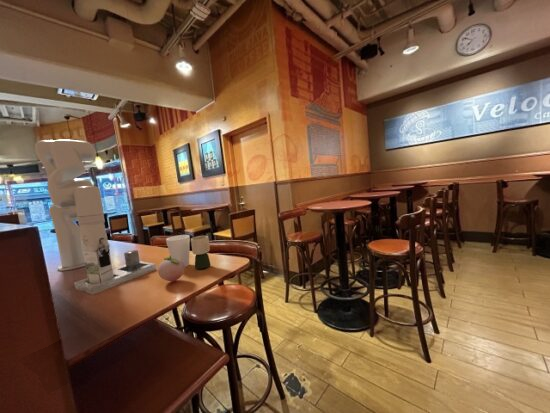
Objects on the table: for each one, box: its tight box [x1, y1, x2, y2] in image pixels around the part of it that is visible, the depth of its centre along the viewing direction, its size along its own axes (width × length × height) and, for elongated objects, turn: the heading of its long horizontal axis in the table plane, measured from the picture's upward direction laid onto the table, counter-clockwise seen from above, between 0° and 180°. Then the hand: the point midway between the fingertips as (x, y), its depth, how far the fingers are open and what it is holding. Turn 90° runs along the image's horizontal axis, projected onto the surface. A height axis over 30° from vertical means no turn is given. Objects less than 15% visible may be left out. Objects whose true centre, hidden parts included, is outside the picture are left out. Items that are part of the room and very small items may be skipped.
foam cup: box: [165, 234, 191, 268], centre depth 99 cm, size 10×9×13 cm
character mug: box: [190, 235, 211, 270], centre depth 96 cm, size 11×7×13 cm, turn 55°
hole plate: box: [73, 249, 157, 295], centre depth 91 cm, size 13×24×9 cm, turn 152°
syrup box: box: [83, 250, 114, 285], centre depth 86 cm, size 6×6×14 cm
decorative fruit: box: [157, 255, 185, 283], centre depth 83 cm, size 9×8×10 cm
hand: (98, 264), depth 85 cm, fingers open, 9 cm apart
